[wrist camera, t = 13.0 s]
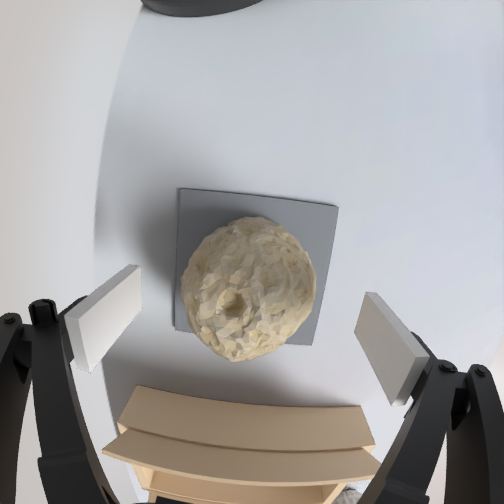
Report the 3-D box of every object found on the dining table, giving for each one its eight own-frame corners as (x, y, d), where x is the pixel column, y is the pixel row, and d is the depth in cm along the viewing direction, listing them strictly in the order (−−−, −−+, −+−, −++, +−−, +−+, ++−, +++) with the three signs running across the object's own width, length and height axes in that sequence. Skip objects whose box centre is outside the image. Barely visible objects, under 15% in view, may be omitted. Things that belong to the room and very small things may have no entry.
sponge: (199, 256, 26) (155, 353, 19) (219, 173, 19) (150, 291, 12) (292, 291, 26) (271, 393, 20) (343, 222, 19) (337, 356, 13)
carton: (134, 366, 25) (87, 445, 14) (368, 389, 25) (403, 470, 14) (155, 466, 30) (136, 523, 19) (318, 481, 30) (327, 540, 19)
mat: (181, 188, 21) (180, 188, 20) (337, 206, 21) (338, 207, 20) (176, 327, 24) (175, 330, 23) (311, 343, 24) (311, 345, 23)
